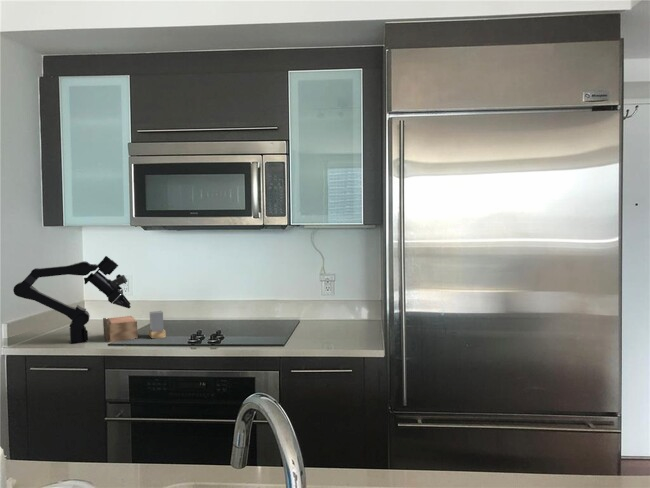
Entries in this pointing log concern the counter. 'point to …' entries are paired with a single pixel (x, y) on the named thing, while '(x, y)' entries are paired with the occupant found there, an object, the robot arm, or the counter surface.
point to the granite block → (156, 321)
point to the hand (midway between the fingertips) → (129, 306)
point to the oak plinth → (157, 334)
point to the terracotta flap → (121, 319)
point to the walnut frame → (119, 330)
